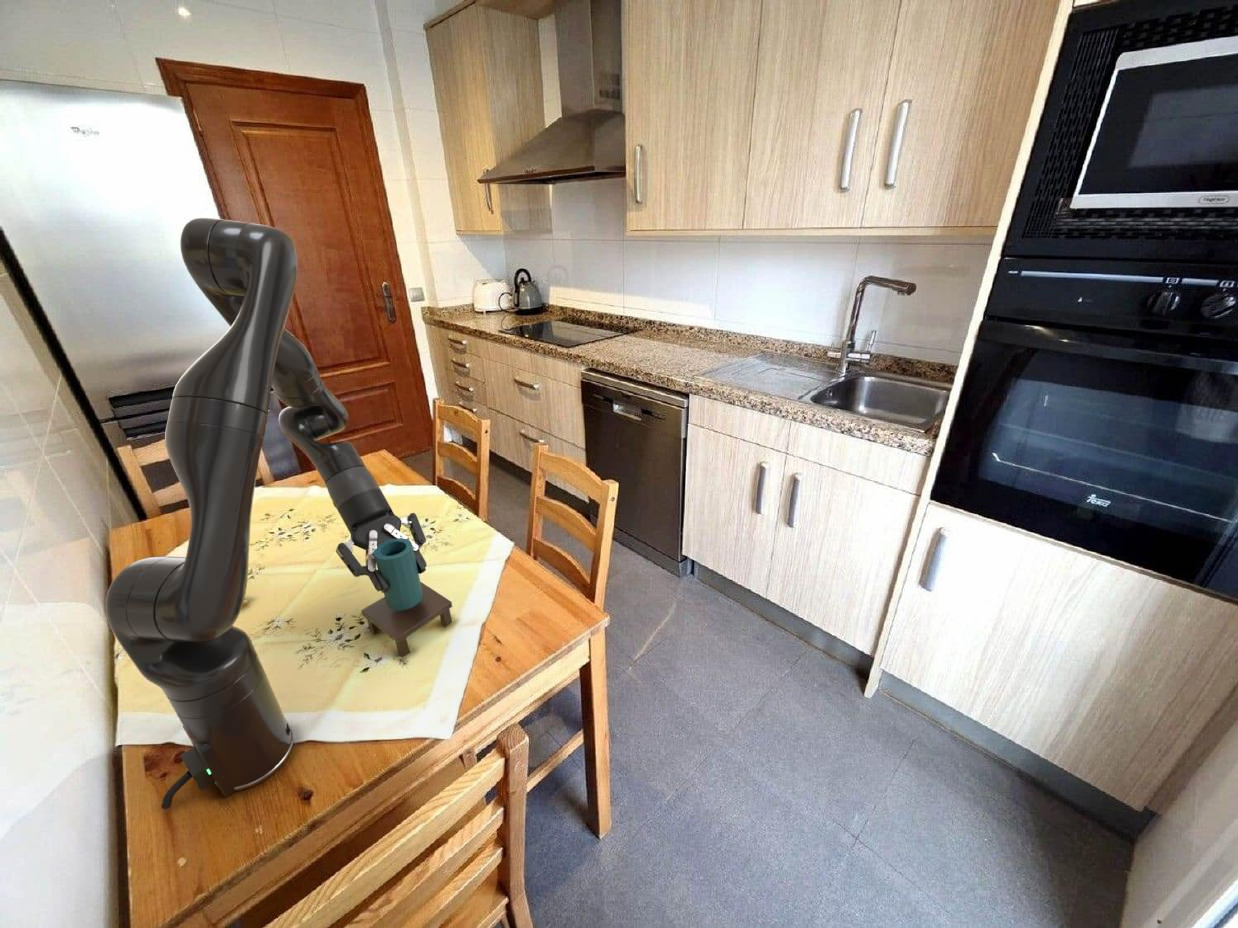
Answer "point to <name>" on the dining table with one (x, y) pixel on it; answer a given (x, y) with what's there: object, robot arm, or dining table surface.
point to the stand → (407, 617)
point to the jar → (399, 573)
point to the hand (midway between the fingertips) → (404, 581)
